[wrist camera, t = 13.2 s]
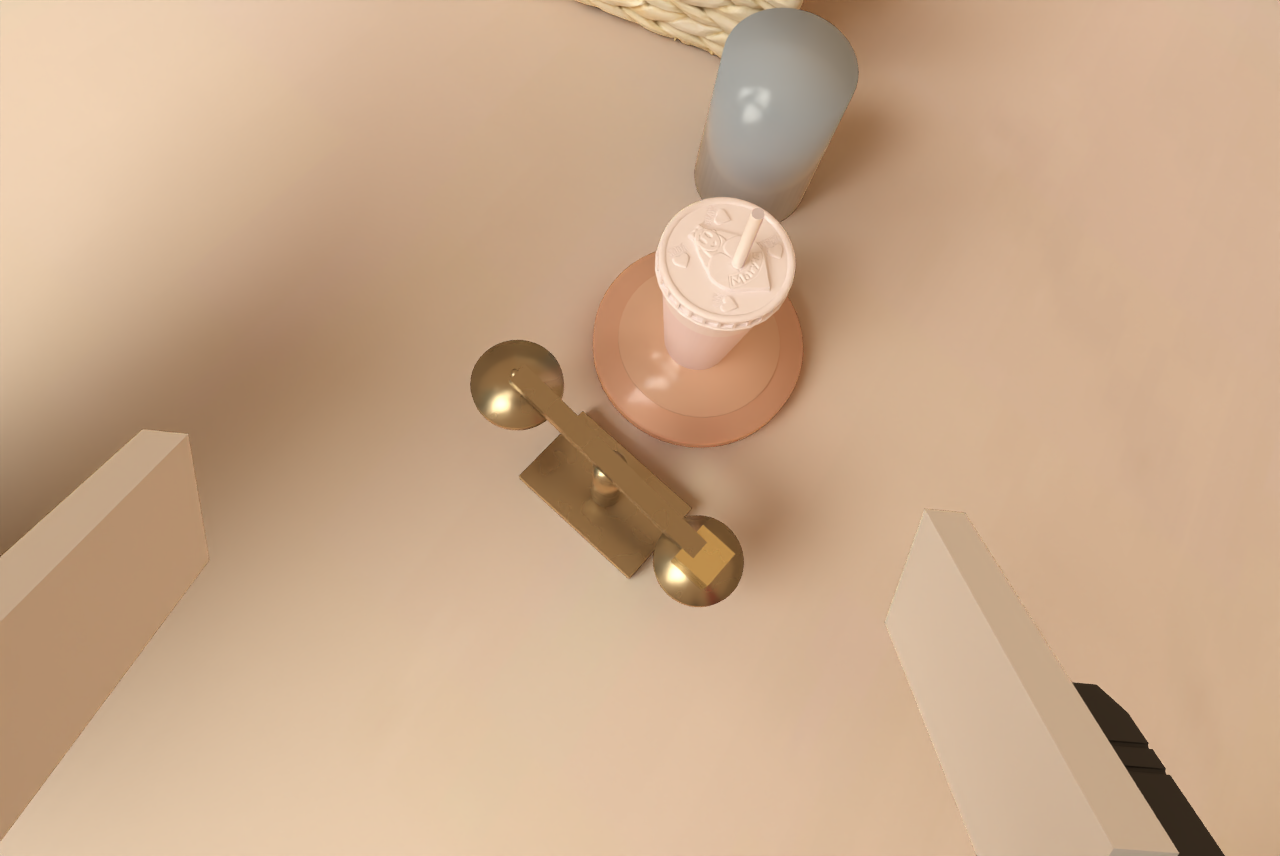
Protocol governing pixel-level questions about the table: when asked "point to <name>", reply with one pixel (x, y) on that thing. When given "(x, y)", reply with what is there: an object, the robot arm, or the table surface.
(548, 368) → the balance
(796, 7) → the storage basket
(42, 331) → the table surface
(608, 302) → the dish
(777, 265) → the smoothie
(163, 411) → the table surface
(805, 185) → the grey domed cylinder
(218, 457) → the table surface
